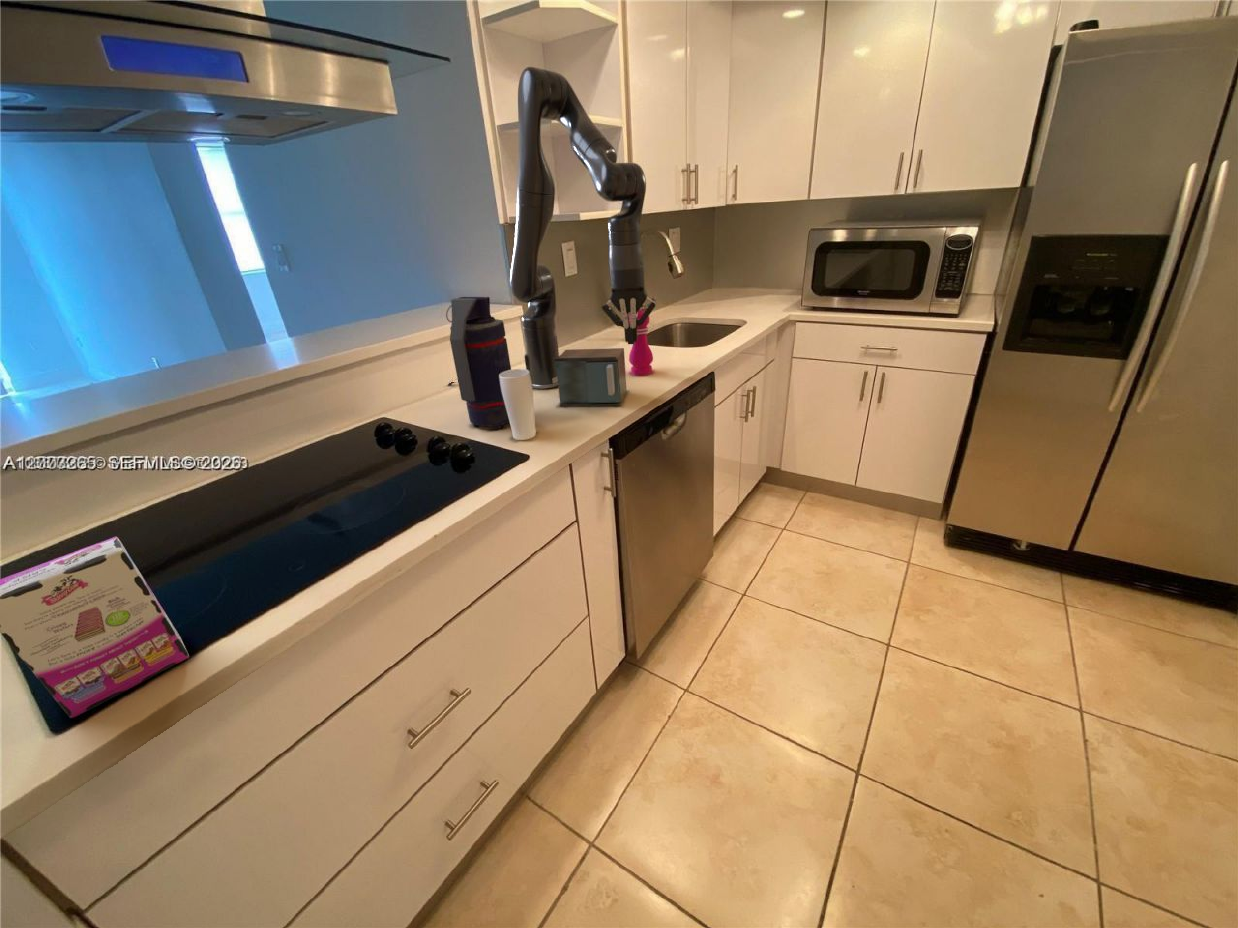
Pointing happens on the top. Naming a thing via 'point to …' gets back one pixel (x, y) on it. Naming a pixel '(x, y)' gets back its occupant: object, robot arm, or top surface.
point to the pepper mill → (641, 350)
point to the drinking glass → (518, 402)
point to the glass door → (602, 382)
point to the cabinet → (574, 374)
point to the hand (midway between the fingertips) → (631, 343)
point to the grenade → (479, 359)
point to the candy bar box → (88, 625)
